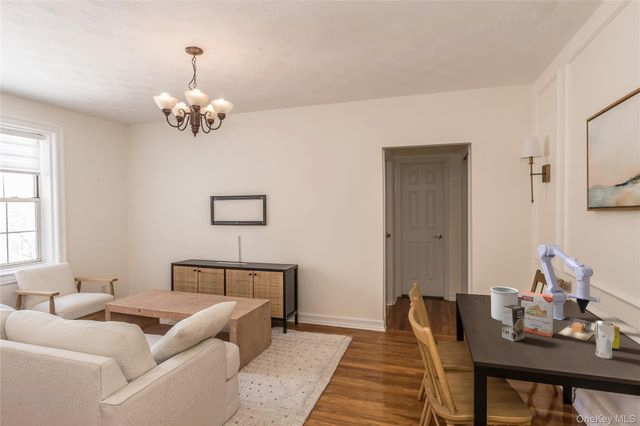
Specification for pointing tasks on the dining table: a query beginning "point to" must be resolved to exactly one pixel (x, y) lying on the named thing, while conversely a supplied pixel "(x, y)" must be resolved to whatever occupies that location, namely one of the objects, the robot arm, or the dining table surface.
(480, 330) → the dining table surface
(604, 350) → the beer glass
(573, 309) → the dining table surface
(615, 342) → the supplement box
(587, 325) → the housing
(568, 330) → the board
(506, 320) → the coffee box
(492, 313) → the utensil holder
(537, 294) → the cracker box
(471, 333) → the dining table surface
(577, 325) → the plug
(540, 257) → the robot arm
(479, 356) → the dining table surface
